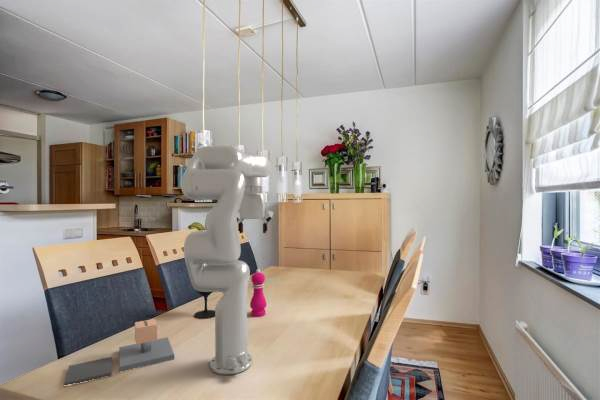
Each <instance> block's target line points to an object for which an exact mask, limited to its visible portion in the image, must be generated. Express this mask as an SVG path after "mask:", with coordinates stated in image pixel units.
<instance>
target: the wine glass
mask: <svg viewBox="0 0 600 400" xmlns="http://www.w3.org/2000/svg"><path fill="white" fill-rule="evenodd" d="M195 291H196V292H197V293H198V294H199V295H201V296H202V298H204V310H200V311H196V312H195V313H193V318H195V319H199V320H207V319H211V318H215V309H214V310H213V309H208V297H209V296H210V295H211V294H212V293H213V292H201V291H197V290H195Z"/></svg>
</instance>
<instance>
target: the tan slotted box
mask: <svg viewBox="0 0 600 400" xmlns="http://www.w3.org/2000/svg"><path fill="white" fill-rule="evenodd" d="M157 339H158V323H157V321H156V318H152V319H146V320H140V321H136V322H134V340H135V344H136V345H137V344H141V343H146V342H151V341H156V340H157Z"/></svg>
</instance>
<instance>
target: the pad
mask: <svg viewBox="0 0 600 400" xmlns="http://www.w3.org/2000/svg"><path fill="white" fill-rule="evenodd" d="M112 369H113V356H108V357H103V358H99V359H94V360H88V361H84V362H81V363H80V362H79V363H75V364H70V365H68V367H67V371H66V373H65V374H66V375H65V378H64V381H63V386H64V385H68V384H73V383H80V382H84V381H88V382H90V381H89V380H92V379H97V378H101V377H105V376H109V377H111V376H110V375H112V372H113V370H112ZM112 376H113V375H112ZM105 378H106V377H105ZM101 379H102V378H101ZM97 380H98V379H97ZM84 383H85V382H84ZM80 384H81V383H80Z"/></svg>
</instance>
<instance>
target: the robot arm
mask: <svg viewBox="0 0 600 400" xmlns="http://www.w3.org/2000/svg"><path fill="white" fill-rule="evenodd" d="M271 169H272V166H271V162H270V160H269V159H268V157H267V156H265V155H262V154H258V153H257V154H256V153H251V152H247V151H246V152H245V151H242V150H241V149H240V148H238V147H235V146H231V145H217V146H215V145H214V146H213V145H211V146H209V145H208V146H201V147H200V148H198V149H197V150H196V152H194V154H193V156H192V157H191V159H190V160H189V163H188V165H187V166H186V168H185V171H184V172H183V175H182V178H181V182H180V183H181V184H180V185H181V186H180V187H181V192H182V194H183V196H185V198H187V199H189V200H193V201H205V200H206V201H209V200H211V201H213V200H214V201H215V200H216V203H215V204H214V206H213V207H212V208H211V209H210V210H209V211H208V213H207V215H206V216H205V219H204V224H205V227H206V230H195V231H191V232H190V233H188V235H187V236H186V238H185V240H184V245H183V256H184V261H185V265H186V269H187V272H188V275H189V276H188V277H189V280H190V283H191V286H192V288H193V289H194V290H195V291H196V290H197V291H201V292H212V293H222V294H223V295H222V296H221V298H220V299H219V300H218V301H217V302H216V305H215V309H214V310H215V317H214V318H215V319H214V320H215V321H214V323H215V324H214V325H215V327H214V330H215V331H214V333H215V334H214V336H215V338H214V340H215V341H214V342H215V343H214V344H215V346H214V349H215V351H214V352H215V355H214V357H213V358H212V359H211V360H210V363H209V368H210V370H211V371H212V372H213V373H216V374H220V375H227V376H228V375H229V376H230V375H236V374H239V373H241V372H244V371H246V370H248V369H249V368H250V367H251V366H252V364H253V356H252V355H251V354H250V353H248V292H249V291H248V290H249V283H250V273H251V270H250V266H249V265H248V264H247V262H245V261H243V260H239V258H240V256H241V253H242V251H241V250H242V249H241V247H242V246H241V240H240V234H243V233H244V223H243V221H244V220H262V222H263V223H262V233H263V234H267V232H268V223H269V222H270V221H271V220H272V218H273V216H274V215H275V213H274V212H273V211H272V210H269V209H268V208H266V202H265V195H264V194H263V189H262V188H263V186H262V185H263V179H262V178H267V177H268V176H269V175H270V174H271ZM266 213H267V214H268V217H267V218H266ZM238 214H239V217H238ZM197 291H196V292H197Z"/></svg>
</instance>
